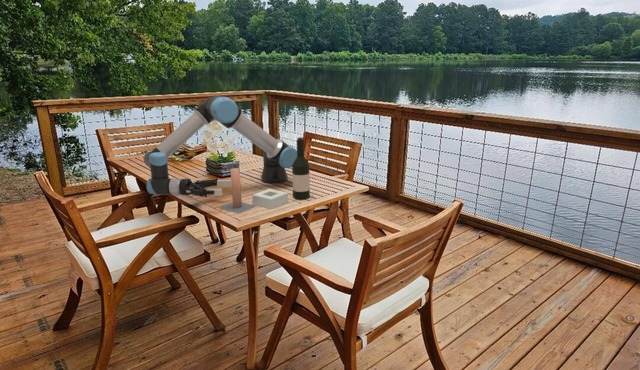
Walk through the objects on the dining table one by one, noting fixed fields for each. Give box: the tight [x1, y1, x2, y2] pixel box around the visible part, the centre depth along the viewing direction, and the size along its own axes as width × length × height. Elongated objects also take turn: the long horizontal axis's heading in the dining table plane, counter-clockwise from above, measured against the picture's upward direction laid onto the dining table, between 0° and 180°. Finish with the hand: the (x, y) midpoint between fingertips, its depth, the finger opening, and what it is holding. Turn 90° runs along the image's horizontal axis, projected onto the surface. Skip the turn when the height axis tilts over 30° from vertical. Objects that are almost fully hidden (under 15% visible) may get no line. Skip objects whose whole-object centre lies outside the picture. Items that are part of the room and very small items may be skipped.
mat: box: [219, 201, 258, 215], centre depth 195 cm, size 14×12×1 cm
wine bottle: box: [291, 136, 311, 201], centre depth 205 cm, size 8×8×30 cm
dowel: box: [230, 167, 242, 208], centre depth 193 cm, size 4×4×18 cm
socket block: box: [251, 188, 289, 210], centre depth 200 cm, size 12×12×5 cm
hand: (226, 187), depth 192 cm, fingers open, 13 cm apart
